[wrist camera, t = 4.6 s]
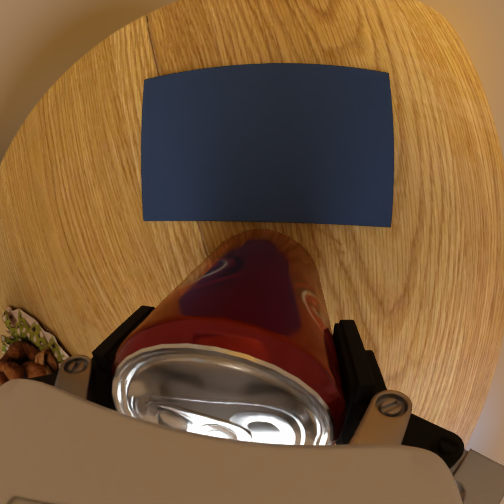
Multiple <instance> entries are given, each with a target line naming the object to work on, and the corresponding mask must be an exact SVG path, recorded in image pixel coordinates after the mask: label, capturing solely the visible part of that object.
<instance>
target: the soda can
mask: <svg viewBox="0 0 504 504" xmlns="http://www.w3.org/2000/svg"><path fill="white" fill-rule="evenodd" d="M111 385H112V396H113V400H114V404H115V407H116V410H117V412H120V413H123V414H126V415H129V416H132V417H136V418H139V419H142V420H146V421H149V422H153V423H156V424H160V425H164V426H168V427H172V428H176V429H180V430H185V431H189V432H194V433H199V434H204V435H210V436H216V437H222V438H229V439H236V440H244V441H252V442H263V443H276V444H296V445H334V444H335V443H336V441H337V440H338V439H339V436H340V434H341V431H342V428H343V425H344V422H345V418H346V404H345V398H344V392H343V386H342V380H341V375H340V369H339V364H338V359H337V354H336V349H335V344H334V339H333V335H332V330H331V325H330V321H329V316H328V312H327V307H326V303H325V299H324V294H323V290H322V286H321V282H320V278H319V274H318V271H317V268H316V265H315V263H314V261H313V259H312V258H311V256H310V255H309V253H308V252H307V251H306V250H305V249H304V248H303V247H302V246H301V245H300V244H299V243H298V242H297V241H295V240H294V239H292V238H291V237H289V236H287V235H284V234H282V233H280V232H276V231H271V230H261V229H254V230H249V231H244V232H241V233H238V234H236V235H233V236H231V237H230V238H228V239H227V240H225V241H224V242H222V243H221V244H220V245H219V246H218V247H217V248H216V249H215V250H214V251H213V252H212V253H211V254H210V255H209V256H208V257H207V258H206V259H205V260H204V261H203V262H202V263H201V264H200V265H198V266H197V267H196V268H195V269H194V270H193V271H192V272H191V273H190V274H189V275H188V276H187V277H186V278H185V279H184V280H183V281H182V282H181V283H180V284H179V285H178V286H177V287H176V288H175V289H174V290H173V291H172V292H171V293H170V294H169V295H168V296H167V297H166V298H165V299H164V300H163V301H162V302H161V303H160V304H159V305H158V306H157V307H156V308H155V309H154V310H153V311H152V312H151V313H150V314H149V315H148V316H147V317H146V318H145V319H144V320H143V321H142V322H141V323H140V324H139V325H138V326H137V327H136V328H135V329H134V330H133V331H132V332H131V333H130V334H129V335H128V337H127V338H126V339H125V340H124V341H123V342H122V343H121V345H120V346H119V347H118V349H117V351H116V354H115V356H114V359H113V362H112V366H111Z"/></svg>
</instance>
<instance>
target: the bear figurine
mask: <svg viewBox="0 0 504 504" xmlns="http://www.w3.org/2000/svg"><path fill="white" fill-rule="evenodd" d="M2 317H3V322H4V323H5V324H6V326H7V328H8V329H9V331H7V330H6V332H8V333H10V334H11V335H12V336H11V335H10V336H9V337H6V336H4V335H2V336H1V339H2V343H3V342H6V344H9V345H10V346H9V347H8V346H7V345H6V344H4V343H3V347H2V350H3V353H5V355H4V356H3V357H2V358H1V359H0V386H2V385H3V384H4V383H6V382H8V381H10V380H13V379H27V378H33V377H38V376H43V375H48V374H53V373H58V372H59V368H60V365H61V364H62V362H63V361H64V360H65V359H67V358H68V357H69V356H68V355H67V354H66V353H65V352H64V351H63V350H62V348H61V347H60V346H59V345H58V344H57V341H56V339H55V337H54V335H53V334H52V333H51V332H50V331H49V330H48V329H47V328H46V327H45V326H44V325H43V326H44V327H45V328H46V329H47V330H48V331H49V332H50V333H51V334H50V333H48V332H45V331H44V330H43V329H42V328H41V327H40V325H39V323H38V322H37V321H36V319H34V318H32V317H30V316H29V315H28V314H26V313H25V312H23V311H22V310H21V309H17V310H13V311H12V308H11V307H8V308H7V311H5V312H4V315H3V316H2Z"/></svg>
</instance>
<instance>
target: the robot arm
mask: <svg viewBox="0 0 504 504" xmlns="http://www.w3.org/2000/svg"><path fill="white" fill-rule="evenodd" d="M154 309H155V308H154V307H150V306H141V307H140V308H139V309H138V310H136V311H135V312H134V313H133V314H132V315H131V316H130V317H129V318H128V319H127V320H126V321H125V322H123V323H122V324H121V325H120V326H119V327H118V328H117V329H116V330H115V331H114V332H113V333H112V334H111V335H110V336H109V337H107V338H106V339H105V340H104V341H103V342H102V343H101V344H100V345H99V346H98V347H97V348H96V349H95V350H94V351H93V352H92V354H93V358H92V359H90V358H89V357H87V356H85V355H74V356H71V357H68V358H67V359H65V360H64V361H63V362H62V364H61V365H60V368H59V372H58V373H53V374H48V375H43V376H38V377H33V378H27V379H13V380H10V381H8V382H6V383H4V384H3V385H2V386H0V504H500V502H501V500H502V498H503V496H504V466H503V465H501V464H499V463H497V462H495V461H493V460H491V459H489V458H487V457H485V456H483V455H481V454H480V453H478V452H476V451H474V450H472V449H470V450H469V451H466V450H465V449H464V443H463V441H462V439H461V438H460V437H459V436H458V435H456V434H455V433H453V432H450V431H448V430H446V429H444V428H441V427H439V426H437V425H435V424H433V423H431V422H428V421H426V420H424V419H422V418H420V417H418V416H416V415H414V414H412V413H411V411H412V403H411V400H410V399H409V398H408V396H406V395H405V394H403V393H401V392H399V391H394V390H387V388H386V386H385V383H384V380H383V377H382V374H381V372H380V369H379V366H378V364H377V361H376V358H375V356H374V353H373V351H371V350H365V349H364V346H363V343H362V340H361V338H360V335H359V332H358V329H357V327H356V324H355V321H354V320H340V322H339V323H335V326H334V332H333V339H334V344H335V349H336V354H337V359H338V364H339V369H340V375H341V380H342V386H343V392H344V398H345V404H346V418H345V422H344V425H343V428H342V431H341V434H340V436H339V439H338V440H337V441H336V445H296V444H276V443H263V442H252V441H244V440H236V439H229V438H222V437H216V436H210V435H204V434H199V433H194V432H189V431H185V430H180V429H176V428H172V427H168V426H164V425H160V424H156V423H153V422H149V421H146V420H142V419H139V418H136V417H132V416H129V415H126V414H123V413H120V412H117V410H116V407H115V404H114V400H113V396H112V385H111V366H112V362H113V359H114V356H115V354H116V351H117V349H118V347H119V346H120V345H121V343H122V342H123V341H124V340H125V339H126V338H127V337H128V335H129V334H130V333H131V332H132V331H133V330H134V329H135V328H136V327H137V326H138V325H139V324H140V323H141V322H142V321H143V320H144V319H145V318H146V317H147V316H148V315H149V314H150V313H151V312H152V311H153V310H154Z"/></svg>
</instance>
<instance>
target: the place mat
mask: <svg viewBox="0 0 504 504" xmlns="http://www.w3.org/2000/svg"><path fill="white" fill-rule="evenodd" d="M141 178H142V204H143V220H144V221H250V222H288V223H316V224H339V225H358V226H376V227H391V220H392V206H393V185H394V133H393V113H392V99H391V89H390V80H389V73H386V72H380V71H374V70H368V69H361V68H353V67H344V66H334V65H321V64H300V63H266V64H245V65H231V66H221V67H212V68H204V69H197V70H191V71H184V72H179V73H173V74H168V75H163V76H158V77H154V78H150V79H145V80H144V91H143V107H142V132H141Z"/></svg>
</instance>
